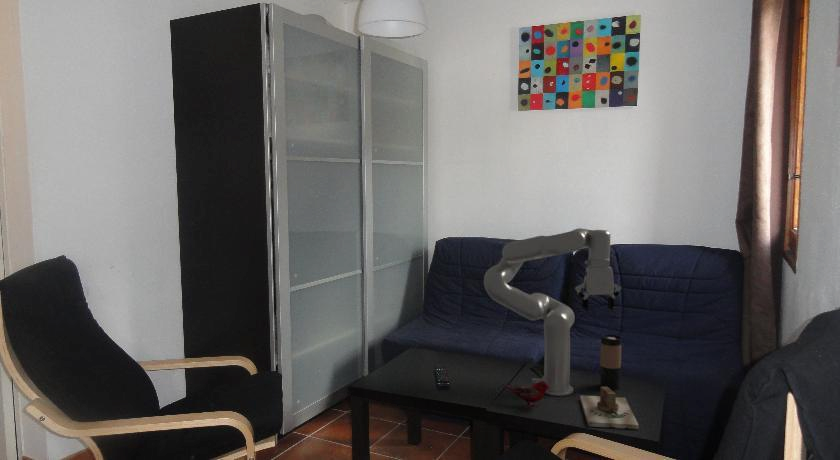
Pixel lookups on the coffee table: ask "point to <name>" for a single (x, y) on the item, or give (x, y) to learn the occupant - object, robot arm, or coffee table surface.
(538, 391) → the decorative bird figurine
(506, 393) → the coffee table surface
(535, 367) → the phone
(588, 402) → the dial board
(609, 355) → the travel mug
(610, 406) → the knob
